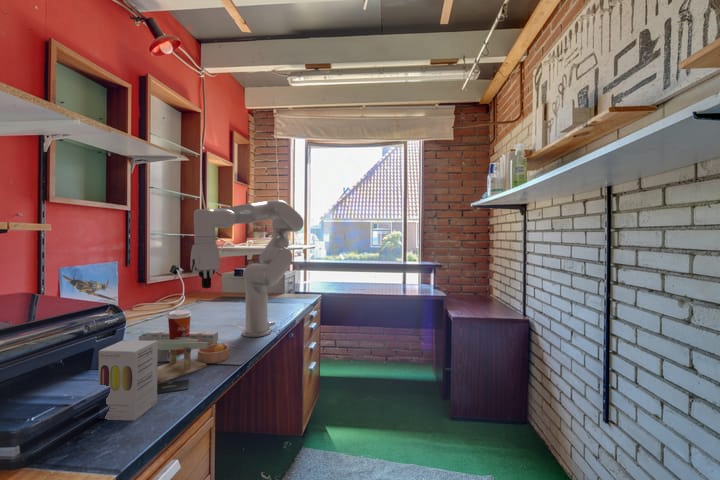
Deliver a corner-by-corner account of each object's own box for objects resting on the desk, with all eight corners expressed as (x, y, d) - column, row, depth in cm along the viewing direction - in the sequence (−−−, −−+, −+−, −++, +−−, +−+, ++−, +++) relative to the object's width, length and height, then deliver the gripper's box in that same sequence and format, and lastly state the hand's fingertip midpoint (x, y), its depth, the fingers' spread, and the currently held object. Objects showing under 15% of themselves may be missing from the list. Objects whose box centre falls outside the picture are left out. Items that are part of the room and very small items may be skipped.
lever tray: (183, 351, 129) (186, 335, 130) (207, 359, 121) (211, 342, 122) (134, 353, 114) (138, 335, 115) (157, 362, 106) (162, 343, 107)
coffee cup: (182, 355, 128) (182, 315, 128) (162, 354, 129) (162, 314, 129) (196, 348, 137) (196, 310, 136) (176, 346, 138) (176, 309, 137)
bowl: (217, 351, 133) (217, 342, 133) (235, 356, 128) (235, 347, 128) (191, 359, 125) (191, 349, 125) (209, 365, 119) (209, 355, 119)
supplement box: (96, 420, 84) (96, 350, 83) (122, 402, 93) (122, 339, 93) (135, 421, 83) (136, 351, 83) (158, 402, 93) (158, 339, 92)
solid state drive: (151, 386, 103) (151, 384, 103) (188, 381, 107) (188, 379, 107) (147, 397, 97) (147, 394, 97) (187, 391, 101) (187, 388, 101)
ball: (220, 342, 131) (212, 344, 128) (226, 344, 129) (218, 346, 126) (220, 352, 131) (211, 354, 128) (226, 354, 129) (217, 356, 126)
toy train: (144, 341, 146) (144, 329, 146) (218, 343, 145) (218, 331, 145) (137, 344, 142) (137, 332, 142) (213, 346, 140) (213, 334, 140)
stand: (187, 360, 124) (187, 337, 124) (206, 366, 118) (206, 343, 118) (142, 374, 111) (142, 349, 111) (161, 382, 105) (161, 356, 105)
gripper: (216, 240, 144) (217, 284, 145) (181, 241, 131) (182, 290, 132) (227, 240, 140) (229, 285, 141) (192, 242, 127) (194, 292, 128)
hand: (206, 287), depth 136 cm, fingers closed
